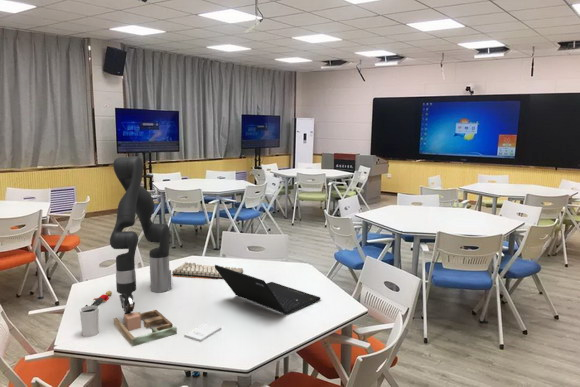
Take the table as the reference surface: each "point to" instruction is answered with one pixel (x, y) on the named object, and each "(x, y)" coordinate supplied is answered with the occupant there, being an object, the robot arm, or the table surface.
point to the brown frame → (151, 320)
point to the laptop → (266, 291)
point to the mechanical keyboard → (200, 271)
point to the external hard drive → (202, 332)
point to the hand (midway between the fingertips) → (127, 320)
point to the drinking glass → (89, 320)
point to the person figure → (101, 298)
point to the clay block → (132, 321)
